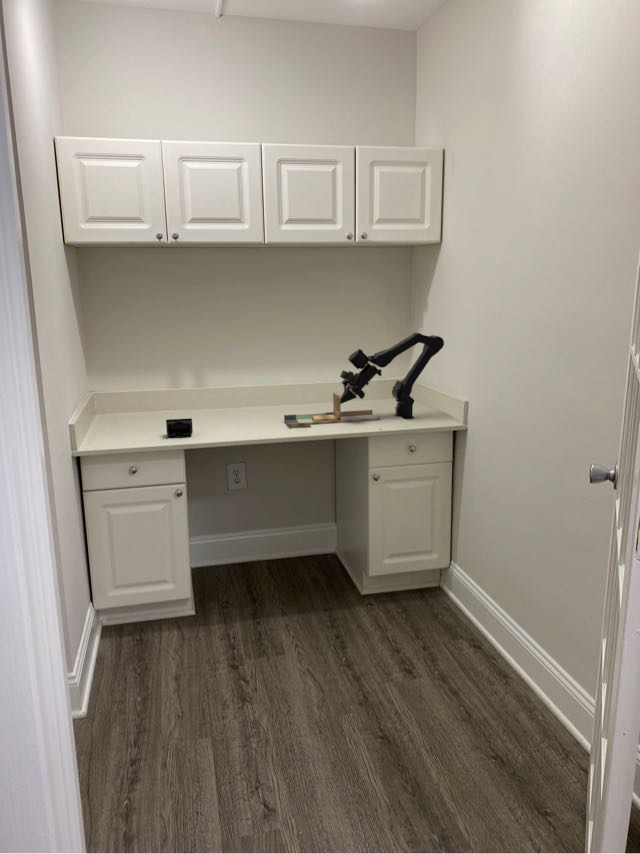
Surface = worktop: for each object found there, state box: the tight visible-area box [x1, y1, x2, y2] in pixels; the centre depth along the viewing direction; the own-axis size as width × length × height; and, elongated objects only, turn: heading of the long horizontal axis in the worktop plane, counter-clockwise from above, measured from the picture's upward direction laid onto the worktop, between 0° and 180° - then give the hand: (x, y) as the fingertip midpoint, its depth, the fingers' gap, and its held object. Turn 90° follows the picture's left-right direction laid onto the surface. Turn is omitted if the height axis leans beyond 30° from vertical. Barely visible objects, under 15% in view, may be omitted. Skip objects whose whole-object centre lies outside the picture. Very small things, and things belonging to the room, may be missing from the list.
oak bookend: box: [312, 392, 342, 422], centre depth 280 cm, size 11×7×11 cm, turn 102°
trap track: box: [283, 409, 377, 429], centre depth 282 cm, size 39×11×3 cm, turn 102°
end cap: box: [165, 417, 194, 439], centre depth 262 cm, size 10×7×7 cm
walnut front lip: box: [288, 417, 381, 429], centre depth 276 cm, size 39×1×2 cm, turn 102°
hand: (339, 403), depth 281 cm, fingers closed
